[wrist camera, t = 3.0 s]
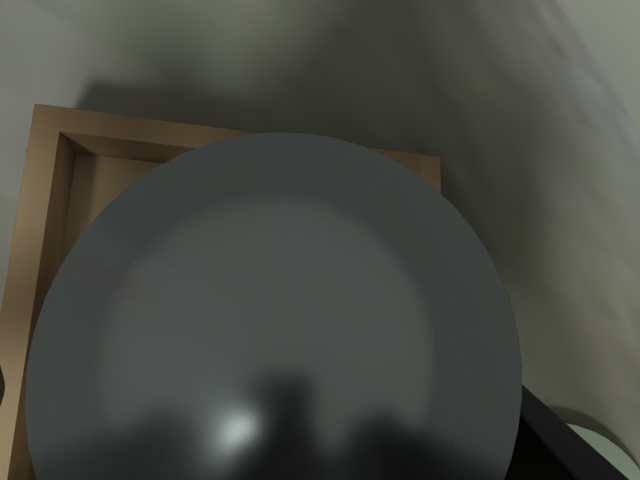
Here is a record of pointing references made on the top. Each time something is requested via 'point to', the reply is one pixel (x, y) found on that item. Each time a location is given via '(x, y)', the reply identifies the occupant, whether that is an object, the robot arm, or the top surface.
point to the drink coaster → (609, 452)
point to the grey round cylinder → (275, 327)
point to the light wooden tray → (84, 223)
